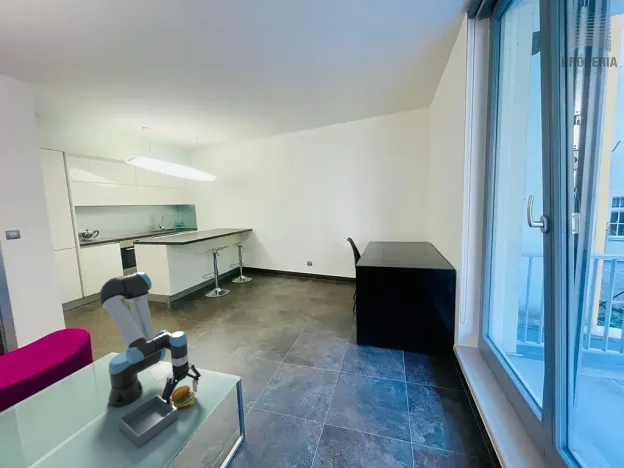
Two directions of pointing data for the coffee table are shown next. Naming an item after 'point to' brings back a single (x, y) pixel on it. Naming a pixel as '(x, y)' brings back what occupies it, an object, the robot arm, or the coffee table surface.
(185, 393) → the cheeseburger
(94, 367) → the coffee table surface
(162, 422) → the bin
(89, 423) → the coffee table surface
